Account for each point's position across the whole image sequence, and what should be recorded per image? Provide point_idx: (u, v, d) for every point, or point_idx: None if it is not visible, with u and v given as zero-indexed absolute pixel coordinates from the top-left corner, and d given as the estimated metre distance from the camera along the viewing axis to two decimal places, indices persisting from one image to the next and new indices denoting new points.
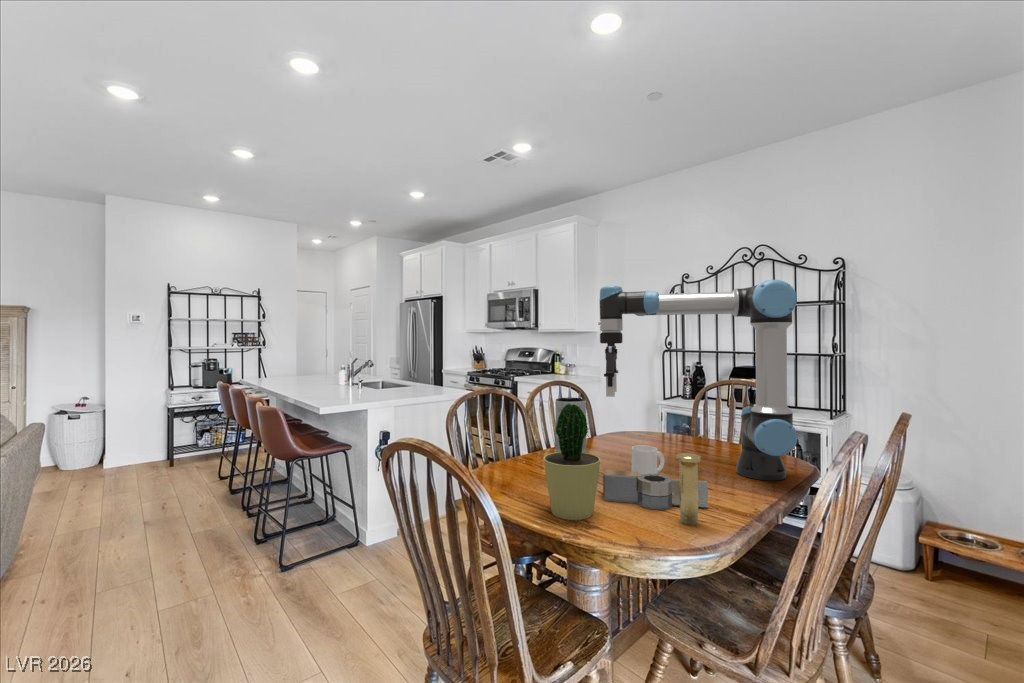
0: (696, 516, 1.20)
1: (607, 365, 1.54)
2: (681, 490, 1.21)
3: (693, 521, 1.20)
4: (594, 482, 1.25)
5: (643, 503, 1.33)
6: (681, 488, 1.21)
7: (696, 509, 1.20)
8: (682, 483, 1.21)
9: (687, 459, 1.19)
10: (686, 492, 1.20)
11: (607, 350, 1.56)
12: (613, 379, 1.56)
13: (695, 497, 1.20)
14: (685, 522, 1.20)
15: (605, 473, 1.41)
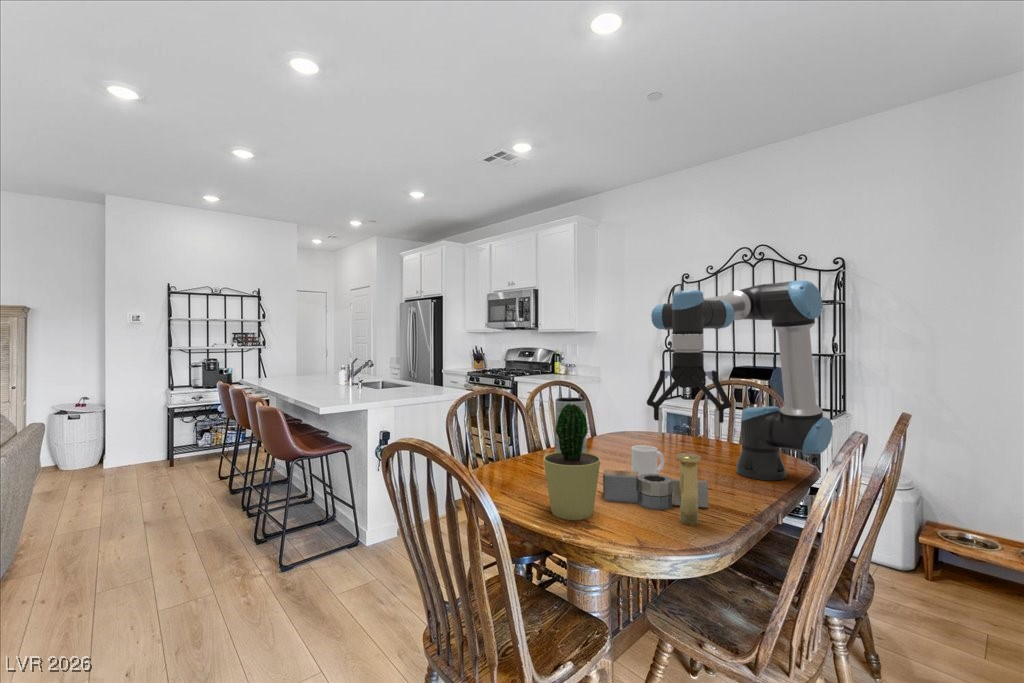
0: (696, 516, 1.20)
1: (651, 392, 1.25)
2: (681, 490, 1.21)
3: (693, 521, 1.20)
4: (594, 482, 1.25)
5: (643, 503, 1.33)
6: (681, 488, 1.21)
7: (696, 509, 1.20)
8: (682, 483, 1.21)
9: (687, 459, 1.19)
10: (686, 492, 1.20)
11: (659, 374, 1.24)
12: (659, 412, 1.23)
13: (695, 497, 1.20)
14: (685, 522, 1.20)
15: (605, 473, 1.41)
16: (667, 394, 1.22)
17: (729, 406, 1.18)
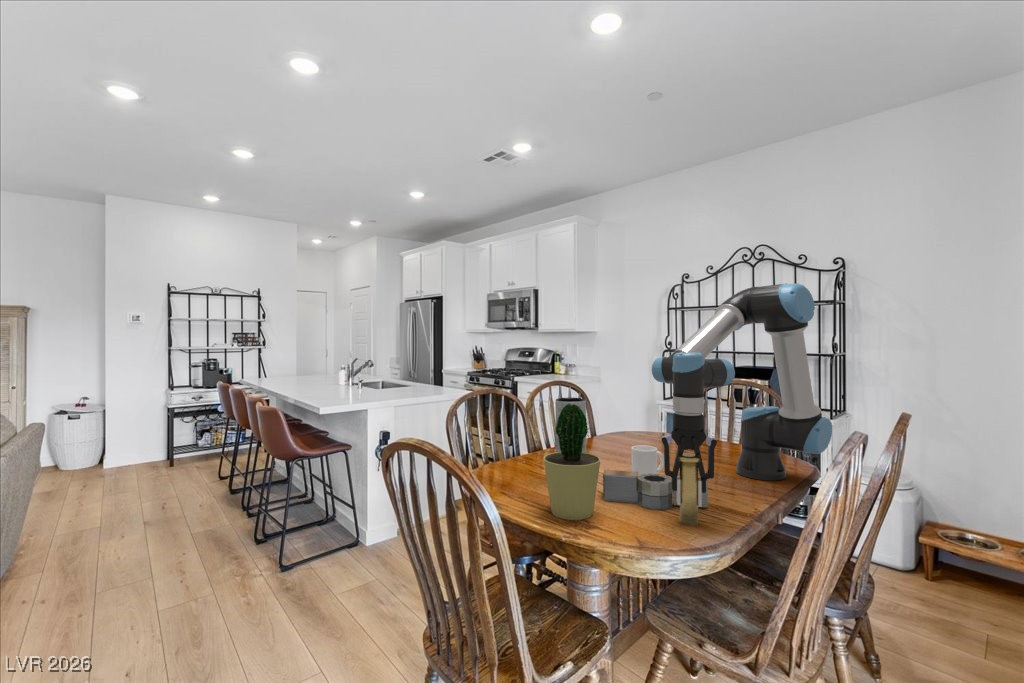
0: (696, 516, 1.20)
1: (664, 461, 1.24)
2: (681, 490, 1.21)
3: (693, 521, 1.20)
4: (594, 482, 1.25)
5: (643, 503, 1.33)
6: (681, 488, 1.21)
7: (696, 509, 1.20)
8: (682, 483, 1.21)
9: (687, 459, 1.19)
10: (686, 492, 1.20)
11: None
12: (677, 482, 1.22)
13: (695, 497, 1.20)
14: (685, 522, 1.20)
15: (605, 473, 1.41)
16: (678, 461, 1.21)
17: (711, 477, 1.19)
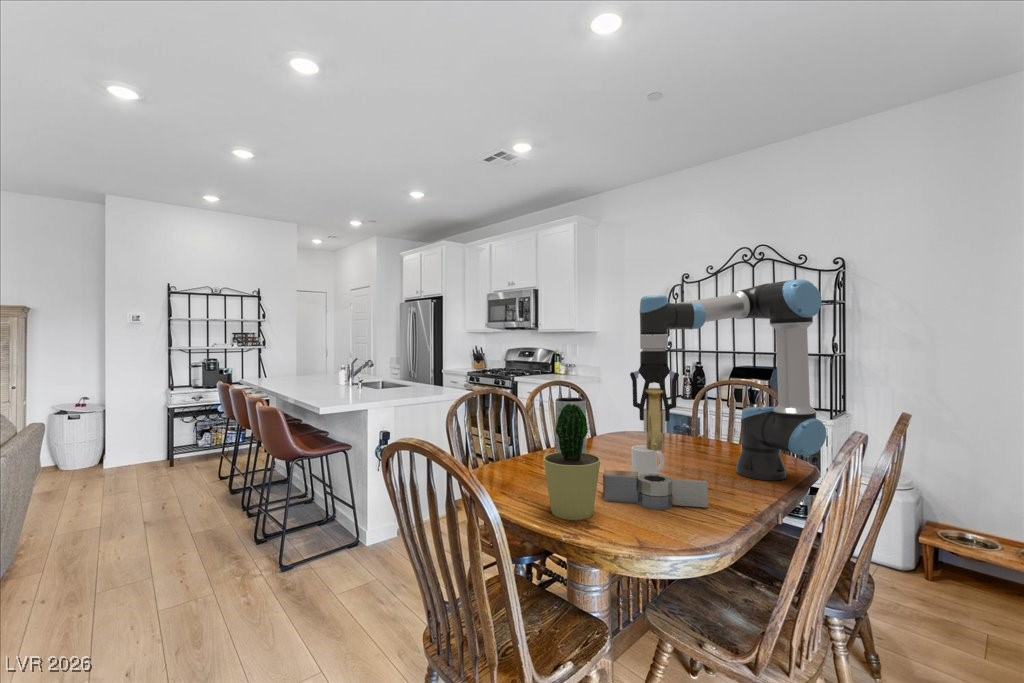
0: (660, 442, 1.34)
1: None
2: (647, 419, 1.35)
3: (657, 446, 1.33)
4: (594, 482, 1.25)
5: (643, 503, 1.33)
6: (647, 417, 1.35)
7: (660, 436, 1.34)
8: (648, 413, 1.34)
9: (652, 390, 1.33)
10: (652, 420, 1.34)
11: None
12: (644, 412, 1.35)
13: (659, 425, 1.33)
14: (651, 447, 1.34)
15: (605, 473, 1.41)
16: (645, 393, 1.35)
17: (674, 406, 1.33)
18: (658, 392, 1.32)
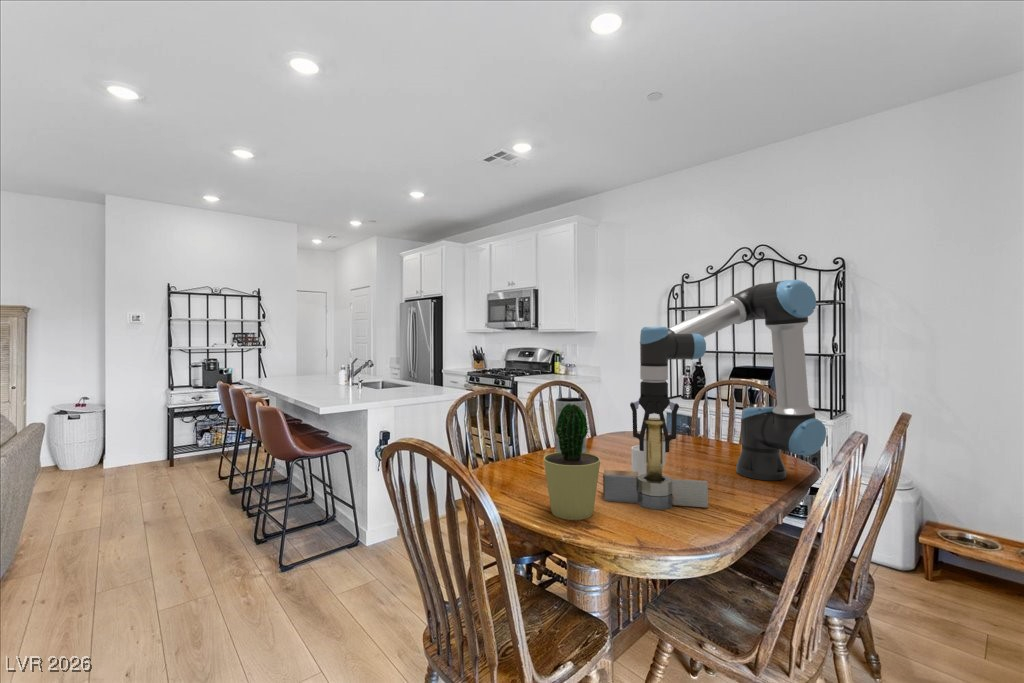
0: (660, 473, 1.34)
1: None
2: (647, 450, 1.35)
3: (657, 478, 1.33)
4: (594, 482, 1.25)
5: (643, 503, 1.33)
6: (647, 448, 1.35)
7: (660, 467, 1.34)
8: (648, 443, 1.35)
9: (652, 422, 1.33)
10: (652, 451, 1.34)
11: None
12: (643, 443, 1.35)
13: (659, 456, 1.34)
14: (650, 478, 1.34)
15: (605, 473, 1.41)
16: (645, 424, 1.35)
17: (673, 438, 1.33)
18: (658, 423, 1.33)
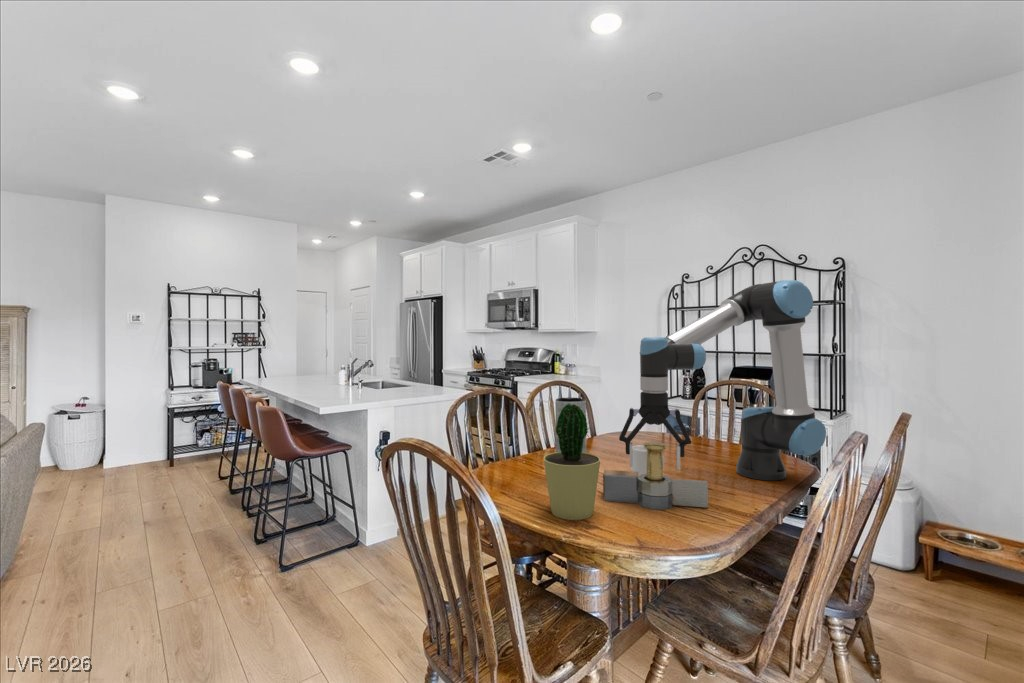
0: None
1: (623, 429, 1.39)
2: (647, 475, 1.35)
3: None
4: (594, 482, 1.25)
5: (643, 503, 1.33)
6: (647, 473, 1.35)
7: None
8: (648, 468, 1.35)
9: (652, 447, 1.33)
10: (652, 476, 1.34)
11: None
12: (629, 446, 1.36)
13: None
14: None
15: (605, 473, 1.41)
16: (636, 430, 1.36)
17: (689, 442, 1.32)
18: (658, 448, 1.33)
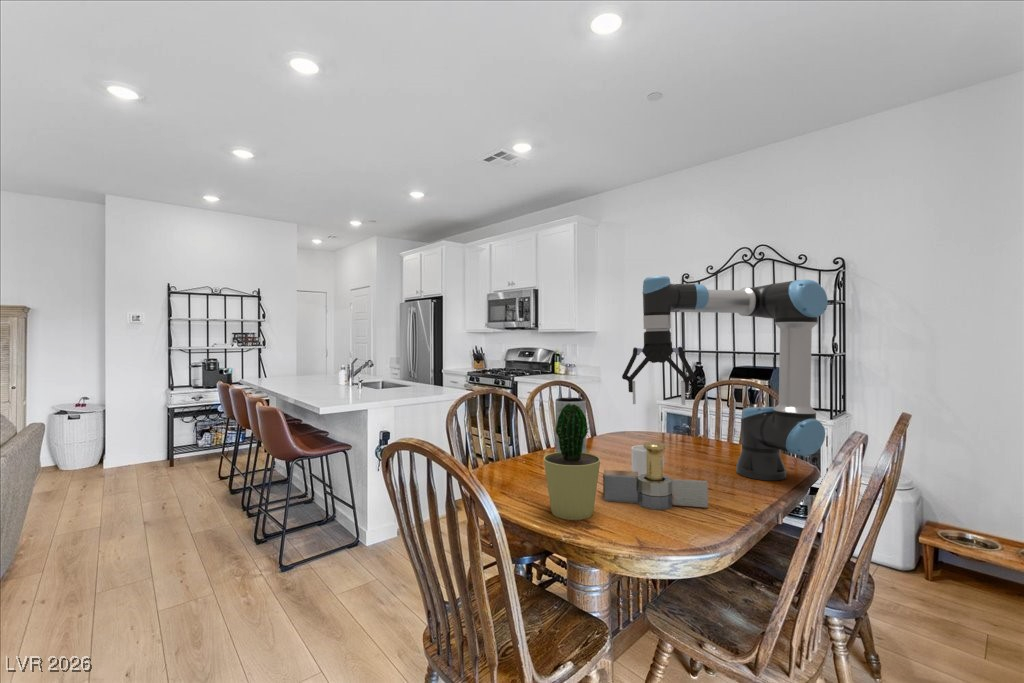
0: None
1: None
2: (647, 475, 1.35)
3: None
4: (594, 482, 1.25)
5: (643, 503, 1.33)
6: (647, 473, 1.35)
7: None
8: (648, 468, 1.35)
9: (652, 447, 1.33)
10: (652, 476, 1.34)
11: None
12: (632, 384, 1.38)
13: None
14: None
15: (605, 473, 1.41)
16: (639, 368, 1.38)
17: (693, 377, 1.34)
18: (658, 448, 1.33)
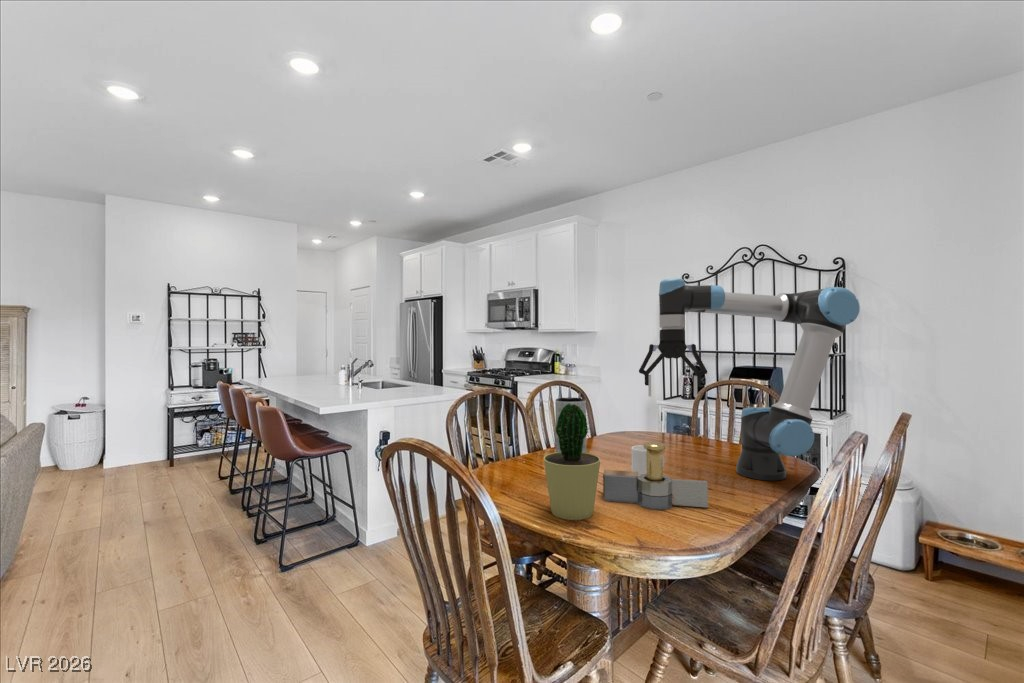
0: None
1: (642, 363, 1.52)
2: (647, 475, 1.35)
3: None
4: (594, 482, 1.25)
5: (643, 503, 1.33)
6: (647, 473, 1.35)
7: None
8: (648, 468, 1.35)
9: (652, 447, 1.33)
10: (652, 476, 1.34)
11: None
12: (648, 378, 1.50)
13: None
14: None
15: (605, 473, 1.41)
16: (655, 363, 1.49)
17: (705, 372, 1.46)
18: (658, 448, 1.33)
